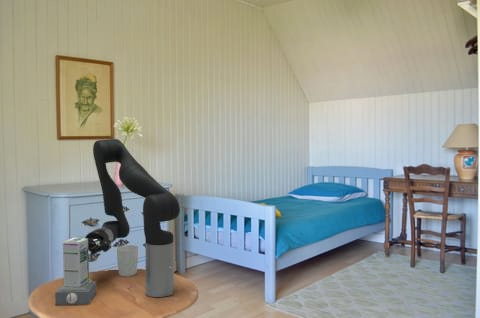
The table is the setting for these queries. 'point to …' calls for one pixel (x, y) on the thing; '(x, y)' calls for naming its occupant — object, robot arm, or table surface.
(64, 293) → the scale
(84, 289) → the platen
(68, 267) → the syrup box
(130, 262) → the white cup
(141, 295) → the table surface
